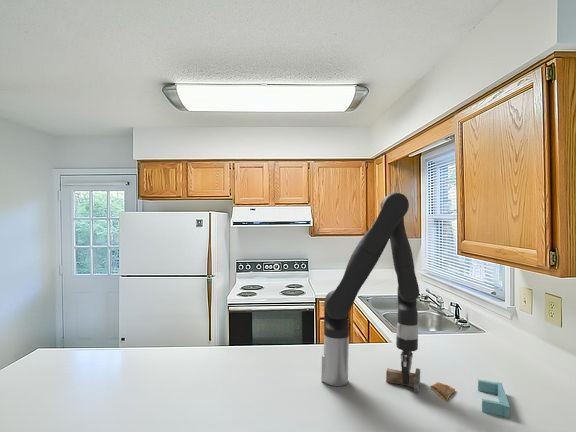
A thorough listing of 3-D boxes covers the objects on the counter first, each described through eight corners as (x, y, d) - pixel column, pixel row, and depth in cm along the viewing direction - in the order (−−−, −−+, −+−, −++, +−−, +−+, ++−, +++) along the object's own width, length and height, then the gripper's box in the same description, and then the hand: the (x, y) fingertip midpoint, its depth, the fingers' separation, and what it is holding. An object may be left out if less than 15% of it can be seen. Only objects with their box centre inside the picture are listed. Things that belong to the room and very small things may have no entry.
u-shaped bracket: (482, 412, 116) (482, 401, 116) (477, 388, 133) (478, 378, 133) (509, 418, 113) (509, 406, 113) (501, 392, 130) (501, 382, 130)
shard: (446, 403, 122) (446, 398, 122) (423, 396, 127) (423, 390, 127) (456, 392, 131) (456, 387, 131) (434, 385, 136) (434, 380, 136)
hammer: (384, 385, 132) (384, 373, 132) (388, 374, 142) (388, 363, 142) (418, 392, 128) (418, 379, 128) (420, 380, 137) (420, 368, 137)
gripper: (398, 328, 142) (397, 373, 142) (394, 339, 129) (393, 388, 129) (419, 331, 139) (418, 376, 139) (416, 342, 126) (415, 392, 126)
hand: (406, 382), depth 134 cm, fingers closed on hammer, 2 cm apart
